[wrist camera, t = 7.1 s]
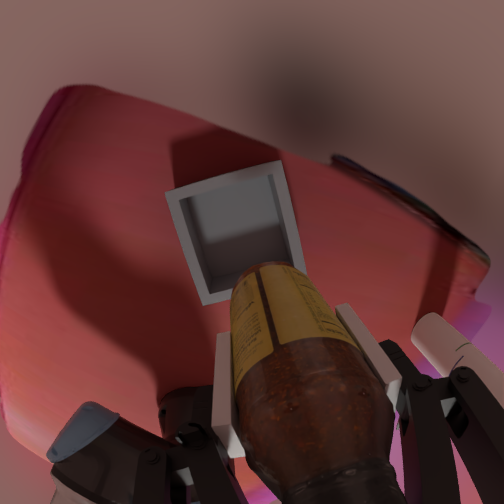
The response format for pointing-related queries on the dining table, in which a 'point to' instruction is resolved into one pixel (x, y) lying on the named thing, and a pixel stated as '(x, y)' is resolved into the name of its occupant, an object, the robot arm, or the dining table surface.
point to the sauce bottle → (307, 395)
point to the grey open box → (235, 226)
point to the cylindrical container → (455, 352)
